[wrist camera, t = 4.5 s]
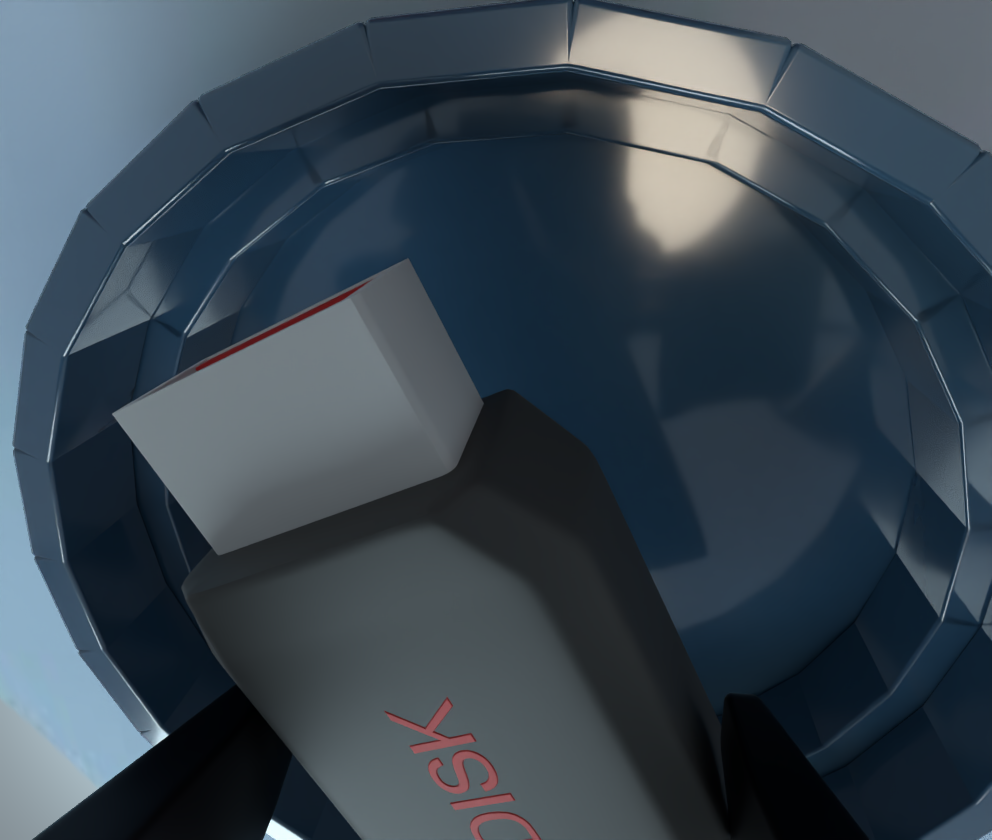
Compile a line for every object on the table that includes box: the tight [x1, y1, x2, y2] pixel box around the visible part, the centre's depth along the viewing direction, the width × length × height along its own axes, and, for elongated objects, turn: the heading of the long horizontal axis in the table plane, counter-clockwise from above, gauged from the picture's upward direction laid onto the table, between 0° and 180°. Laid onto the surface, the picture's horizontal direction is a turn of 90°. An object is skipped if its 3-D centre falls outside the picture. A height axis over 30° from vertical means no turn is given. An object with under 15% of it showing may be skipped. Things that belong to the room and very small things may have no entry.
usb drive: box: [112, 258, 731, 840], centre depth 9 cm, size 5×12×3 cm, turn 27°
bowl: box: [13, 0, 992, 840], centre depth 12 cm, size 17×17×4 cm
